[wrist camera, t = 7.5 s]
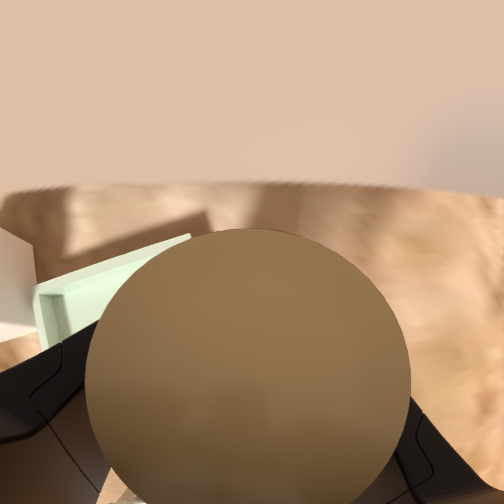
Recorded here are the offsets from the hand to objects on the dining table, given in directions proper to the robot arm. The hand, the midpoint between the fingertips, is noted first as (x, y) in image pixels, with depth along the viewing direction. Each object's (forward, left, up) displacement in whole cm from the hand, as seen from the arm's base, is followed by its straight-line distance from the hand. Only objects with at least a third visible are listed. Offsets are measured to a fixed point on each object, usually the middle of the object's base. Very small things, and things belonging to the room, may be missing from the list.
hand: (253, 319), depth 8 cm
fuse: (-1, +1, -7) cm, 7 cm away
